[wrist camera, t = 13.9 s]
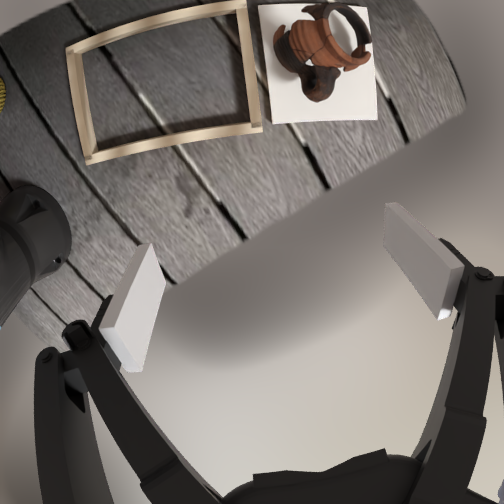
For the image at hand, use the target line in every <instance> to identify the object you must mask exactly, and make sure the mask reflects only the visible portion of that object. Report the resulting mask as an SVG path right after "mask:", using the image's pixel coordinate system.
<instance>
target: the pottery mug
mask: <svg viewBox="0 0 504 504" xmlns="http://www.w3.org/2000/svg"><path fill="white" fill-rule="evenodd" d="M333 10H336V11H337V12H339V13H340V14H341V15H343V16H344V17H346V20H347V21H348V23H349V24H350V25H351V26H352V28H353V30H354V31H355V34H356V39H357V48H356V49H355V50H354V51H352V53H351V56H350V55H348V54H347V53H346V52H344V51H343V50H342V48H341V47H340V46H339V45H338V44H337V42H336V41H335V39H334V37H333V35H332V33H331V30H330V26H329V20H328V18H329V15H330V13H331V11H333ZM301 12H303V13H308V14H310V15H311V16H312V17H313V18H314V20H297V21H295V22H294V23H293V24H292V26H291V30H288V31H287V32H285V34H284V31H285V28H286V25H284V24H282V25H281V26H280V27H279V28H278V29H277V31H276V32H275V34H274V36H273V48H274V52H275V55H276V57H277V59H278V61H279V62H280V63H281V65H282V66H283V67H285V68H286V69H287V70H288V71H289V72H291V73H297V74H298V75H299V77H300V80H301V88H302V92H303V94H304V95H305V96H306V97H307V98H308V99H309V100H311V101H313V102H316V103H318V102H320V101H323V100H326V99H328V98H329V97H330V96H331V94H332V92H333V90H334V87H335V81H336V79H337V78H338V77H339V76H340V75H341V71H340V70H339V69H338V68H341V67H344V68H343V71H344V72H348V71H351V70H354V69H356V68H358V67H359V66H360V65H363V64H365V63H367V62H368V61H369V59H370V57H371V53H370V52H369V51H366V47H365V45H366V44H371V43H372V38H371V35H370V32H369V30H368V28H367V26H366V24H365V22H364V21H363V20H362V18H361V17H360V16H359V15H358V14H357V12H356V11H354V10H353V9H352V8H351V7H349V6H347V5H345V4H343V3H337V2H336V3H330V4H327V3H322V4H315V5H307V6H305V7H304V8H303V9H302V10H301ZM309 59H310V60H311V62H312V64H313V66H311V65H307V64H306V62H307V61H308V60H309Z"/></svg>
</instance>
